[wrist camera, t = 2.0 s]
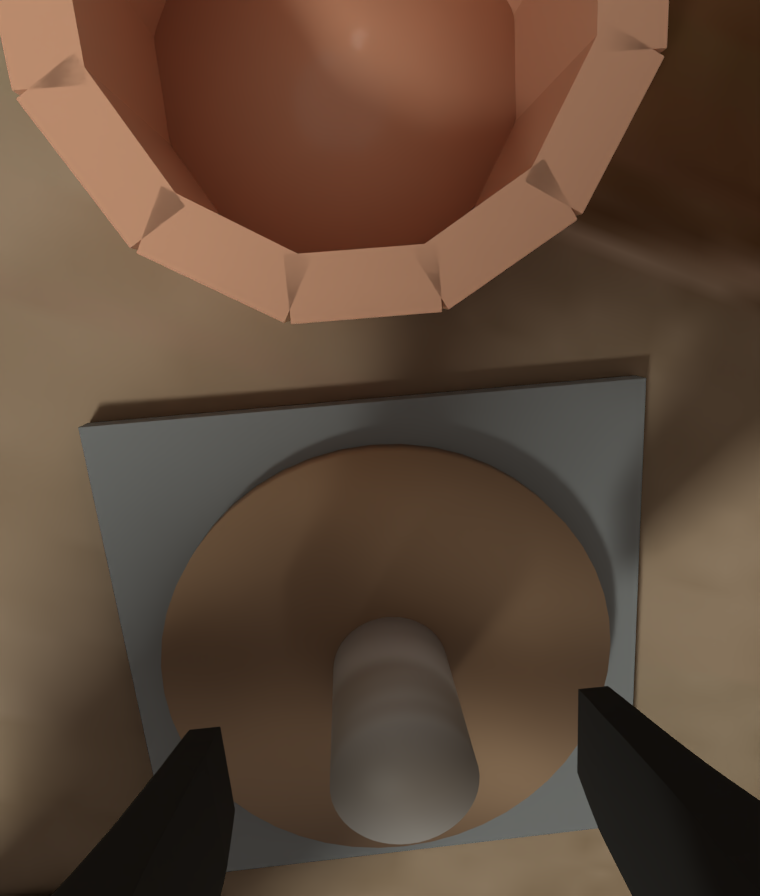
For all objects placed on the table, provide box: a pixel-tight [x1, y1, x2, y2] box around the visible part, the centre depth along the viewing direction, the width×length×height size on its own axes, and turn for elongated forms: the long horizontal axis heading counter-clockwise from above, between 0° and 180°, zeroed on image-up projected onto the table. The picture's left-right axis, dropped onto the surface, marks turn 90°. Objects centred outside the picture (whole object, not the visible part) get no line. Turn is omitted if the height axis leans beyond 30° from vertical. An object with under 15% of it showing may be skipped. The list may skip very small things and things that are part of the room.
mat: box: [79, 375, 646, 872], centre depth 15 cm, size 13×13×1 cm
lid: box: [161, 444, 610, 848], centre depth 13 cm, size 11×11×4 cm
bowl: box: [0, 0, 669, 324], centre depth 10 cm, size 9×9×4 cm
